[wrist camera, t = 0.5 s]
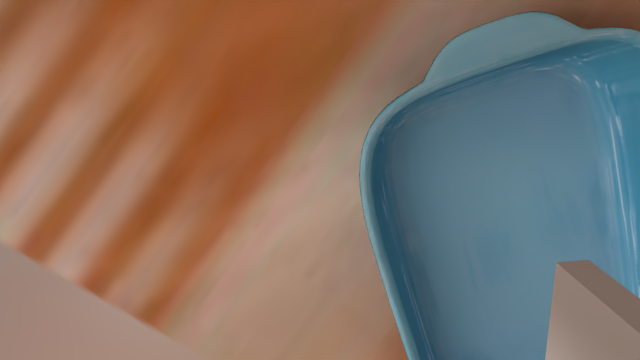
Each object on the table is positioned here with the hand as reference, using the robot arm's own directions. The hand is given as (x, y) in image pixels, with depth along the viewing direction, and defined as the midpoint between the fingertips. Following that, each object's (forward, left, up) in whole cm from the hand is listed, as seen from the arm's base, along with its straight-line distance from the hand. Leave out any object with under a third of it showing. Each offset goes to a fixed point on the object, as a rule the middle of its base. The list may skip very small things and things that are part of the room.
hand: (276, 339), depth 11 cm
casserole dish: (+17, +13, -26) cm, 34 cm away
